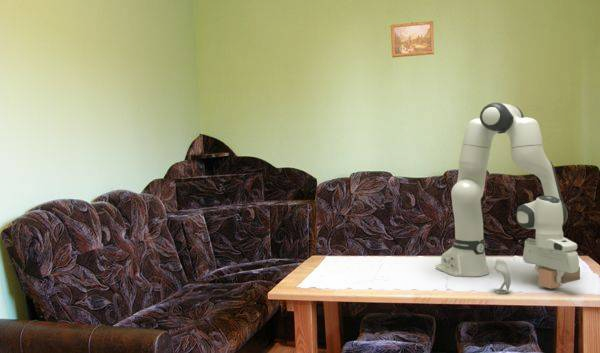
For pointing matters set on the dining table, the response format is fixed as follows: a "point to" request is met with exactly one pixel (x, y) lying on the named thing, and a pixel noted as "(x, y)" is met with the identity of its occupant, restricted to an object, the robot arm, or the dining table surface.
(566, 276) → the walnut block
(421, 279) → the dining table surface
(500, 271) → the figurine
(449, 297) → the dining table surface
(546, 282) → the terracotta block
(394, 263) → the dining table surface
